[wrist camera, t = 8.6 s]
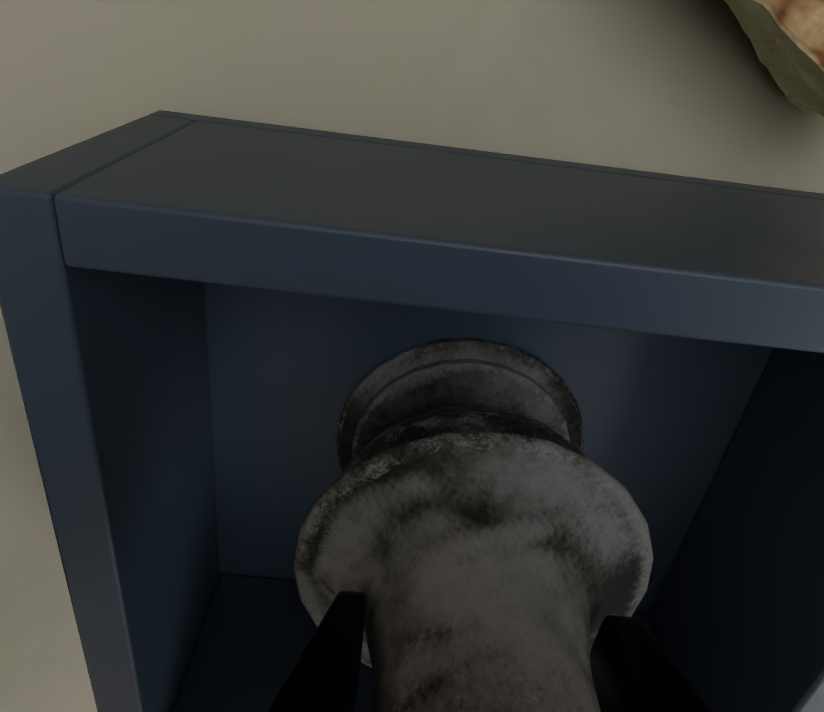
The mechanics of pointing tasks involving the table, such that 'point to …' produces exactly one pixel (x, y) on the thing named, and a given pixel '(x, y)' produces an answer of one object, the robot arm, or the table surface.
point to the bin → (382, 339)
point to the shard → (788, 45)
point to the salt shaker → (473, 534)
